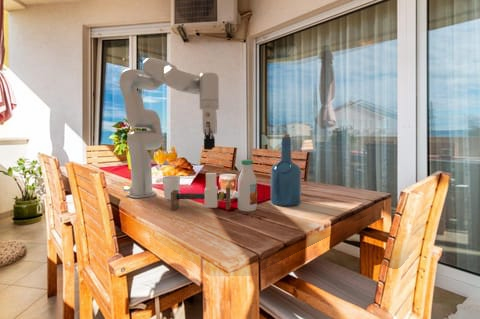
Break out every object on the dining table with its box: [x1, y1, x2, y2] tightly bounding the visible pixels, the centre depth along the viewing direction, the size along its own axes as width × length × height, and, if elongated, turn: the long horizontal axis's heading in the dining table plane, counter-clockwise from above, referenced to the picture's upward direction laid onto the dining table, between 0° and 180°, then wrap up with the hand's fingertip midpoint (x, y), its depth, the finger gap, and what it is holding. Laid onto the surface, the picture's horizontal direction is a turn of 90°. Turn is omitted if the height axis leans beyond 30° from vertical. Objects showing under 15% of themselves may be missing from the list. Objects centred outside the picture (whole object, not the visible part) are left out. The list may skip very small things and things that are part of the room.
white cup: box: [162, 175, 181, 201], centre depth 127 cm, size 8×8×10 cm
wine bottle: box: [270, 133, 303, 207], centre depth 116 cm, size 14×13×30 cm
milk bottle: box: [237, 159, 258, 213], centre depth 107 cm, size 8×8×20 cm
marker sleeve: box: [203, 172, 219, 209], centre depth 110 cm, size 5×5×13 cm
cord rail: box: [170, 184, 231, 211], centre depth 110 cm, size 24×5×9 cm, turn 90°
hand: (209, 148), depth 108 cm, fingers open, 9 cm apart
